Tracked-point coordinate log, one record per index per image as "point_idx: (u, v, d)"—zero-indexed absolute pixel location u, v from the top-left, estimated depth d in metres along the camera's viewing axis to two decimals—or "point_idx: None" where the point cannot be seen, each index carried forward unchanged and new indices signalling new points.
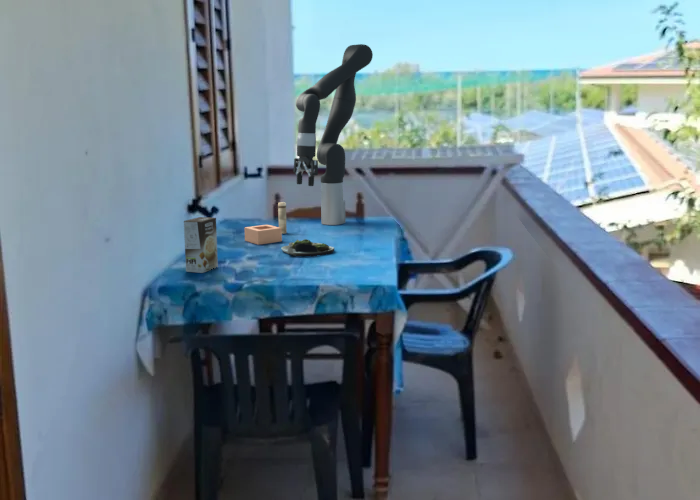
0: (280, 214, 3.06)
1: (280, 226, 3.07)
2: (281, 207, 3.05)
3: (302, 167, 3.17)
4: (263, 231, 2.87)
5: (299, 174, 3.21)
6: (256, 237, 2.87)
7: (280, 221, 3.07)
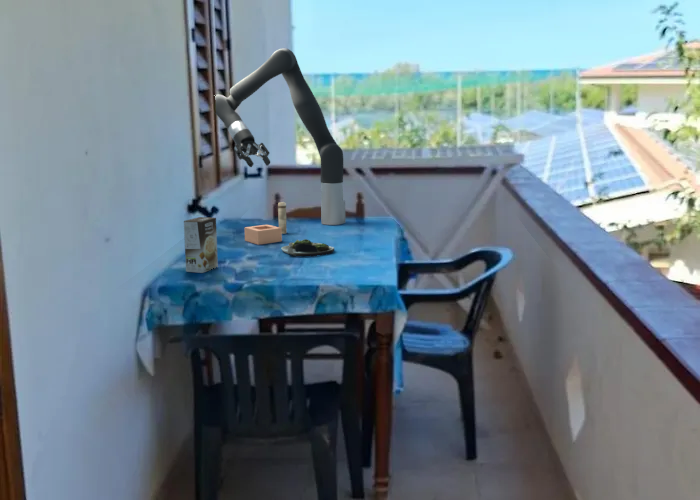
0: (280, 214, 3.06)
1: (280, 226, 3.07)
2: (281, 207, 3.05)
3: None
4: (263, 231, 2.87)
5: (263, 157, 3.17)
6: (256, 237, 2.87)
7: (280, 221, 3.07)
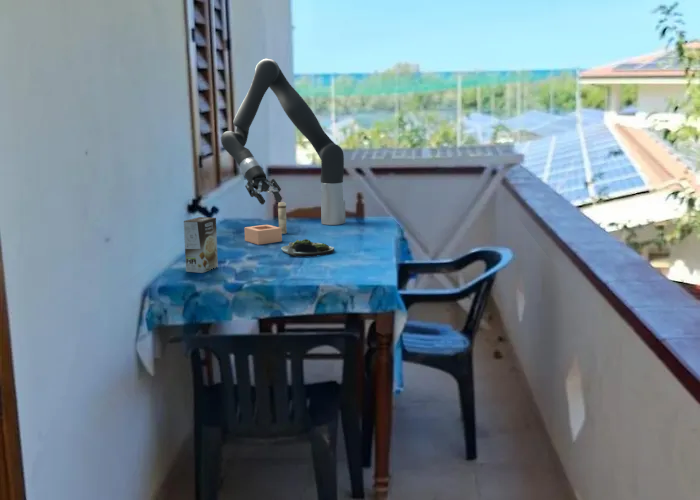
0: (280, 214, 3.06)
1: (280, 226, 3.07)
2: (281, 207, 3.05)
3: None
4: (263, 231, 2.87)
5: (274, 193, 3.15)
6: (256, 237, 2.87)
7: (280, 221, 3.07)
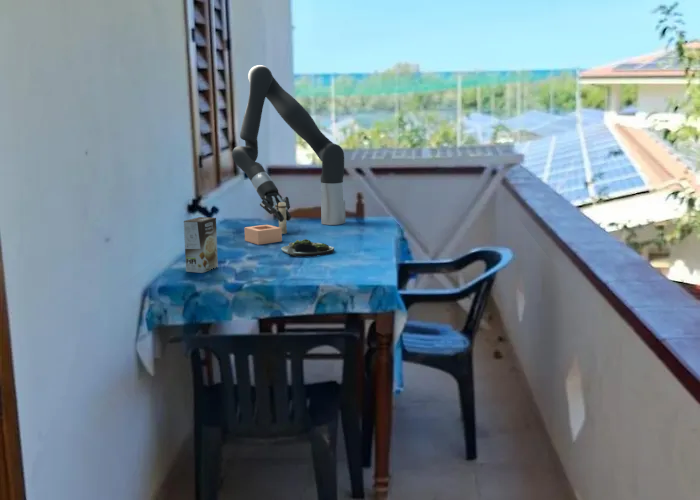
0: None
1: (280, 226, 3.07)
2: (281, 207, 3.05)
3: None
4: (263, 231, 2.87)
5: None
6: (256, 237, 2.87)
7: None
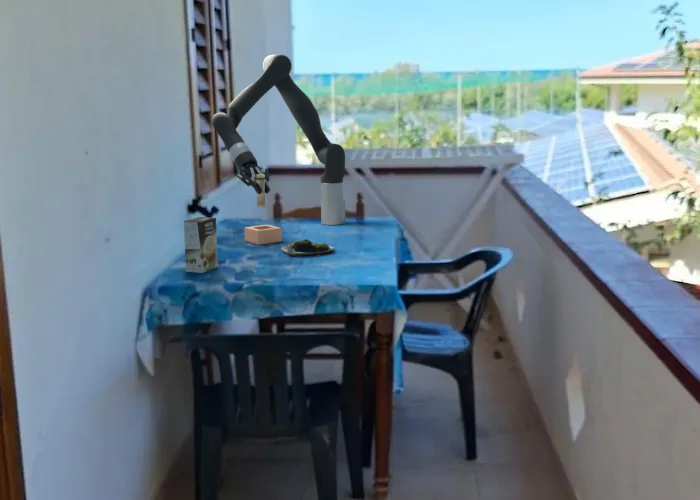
0: None
1: (258, 199, 2.90)
2: (259, 179, 2.88)
3: None
4: (263, 231, 2.87)
5: None
6: (256, 237, 2.87)
7: (258, 194, 2.89)
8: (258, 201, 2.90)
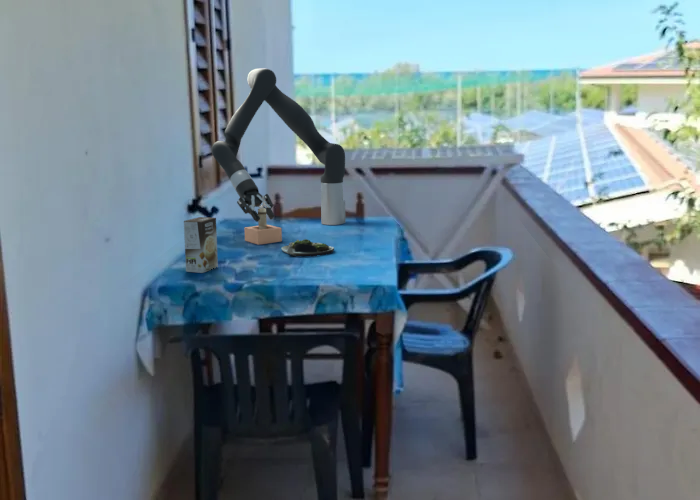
0: (260, 221, 2.91)
1: None
2: (261, 213, 2.90)
3: None
4: (263, 231, 2.87)
5: (266, 210, 2.94)
6: (256, 237, 2.87)
7: (260, 228, 2.91)
8: None
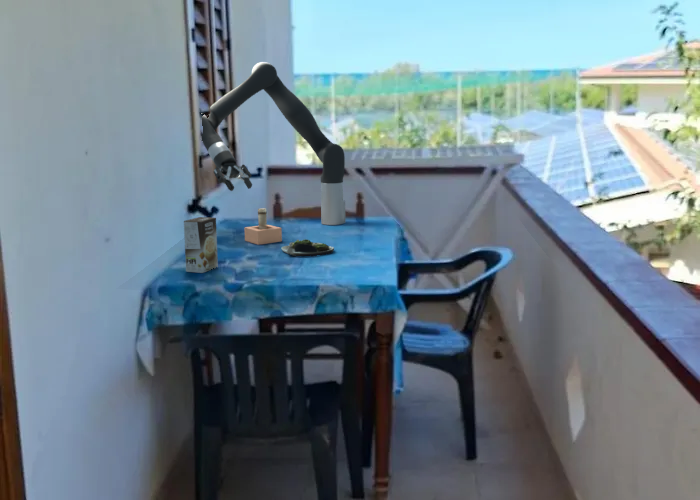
0: (260, 221, 2.91)
1: None
2: (261, 213, 2.90)
3: None
4: (263, 231, 2.87)
5: (244, 179, 3.02)
6: (256, 237, 2.87)
7: (260, 228, 2.91)
8: None
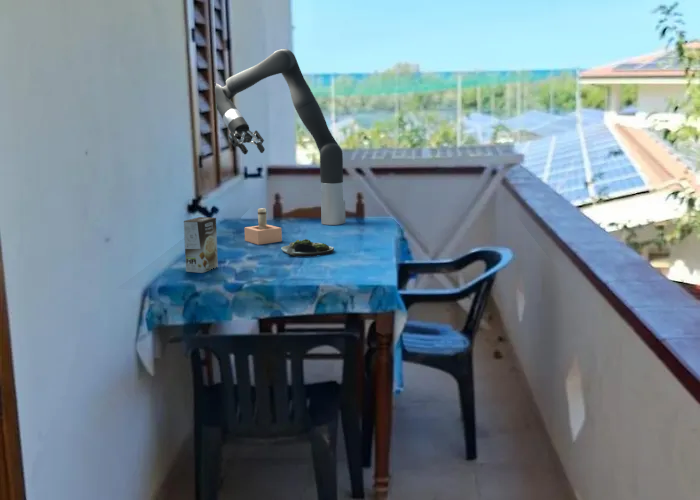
0: (260, 221, 2.91)
1: None
2: (261, 213, 2.90)
3: None
4: (263, 231, 2.87)
5: (257, 144, 3.19)
6: (256, 237, 2.87)
7: (260, 228, 2.91)
8: None
